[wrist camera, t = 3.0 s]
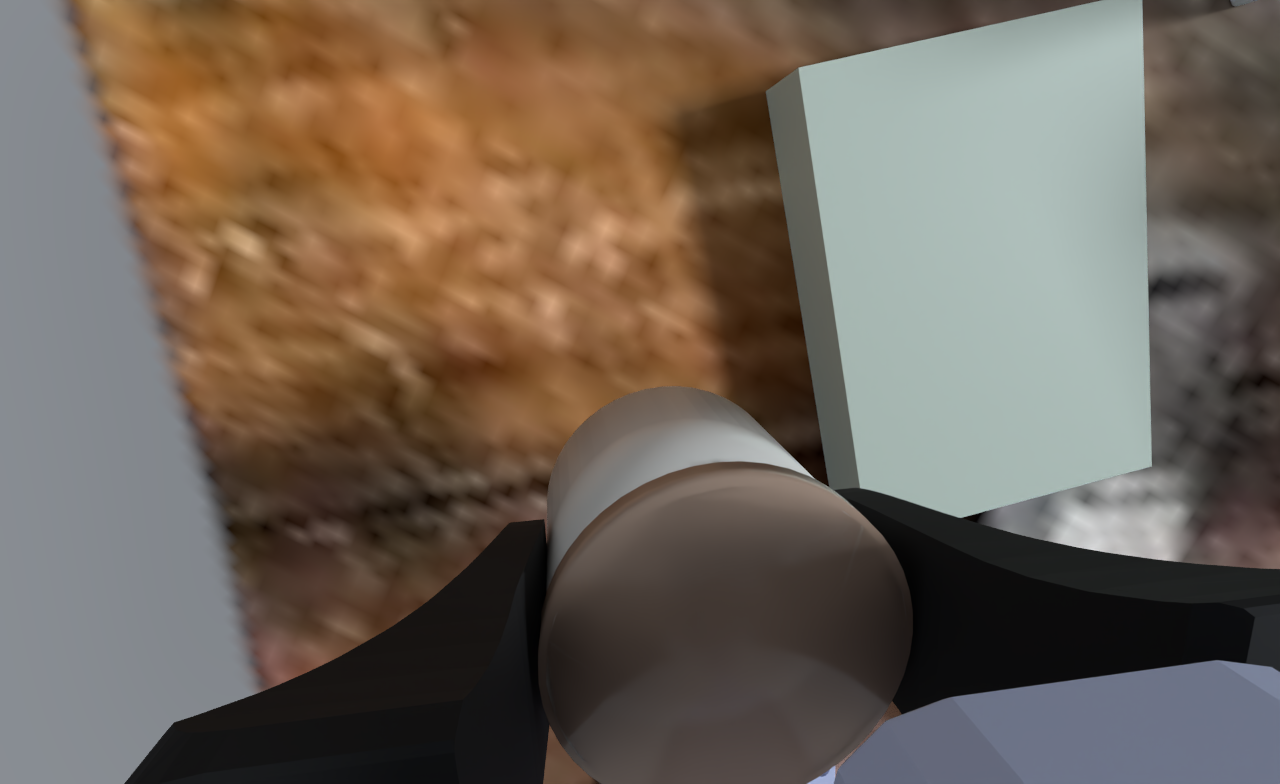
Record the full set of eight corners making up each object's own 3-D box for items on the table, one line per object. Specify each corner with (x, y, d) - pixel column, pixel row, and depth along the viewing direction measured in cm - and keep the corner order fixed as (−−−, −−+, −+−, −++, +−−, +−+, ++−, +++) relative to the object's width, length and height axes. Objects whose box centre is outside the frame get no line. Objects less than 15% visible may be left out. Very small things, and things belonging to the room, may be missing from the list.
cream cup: (785, 594, 14) (902, 781, 10) (553, 624, 14) (556, 838, 9) (787, 370, 13) (924, 458, 8) (529, 393, 12) (517, 502, 8)
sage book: (1080, 435, 22) (1157, 465, 19) (827, 502, 22) (868, 542, 19) (1059, 27, 19) (1149, -11, 16) (761, 94, 18) (798, 67, 16)
